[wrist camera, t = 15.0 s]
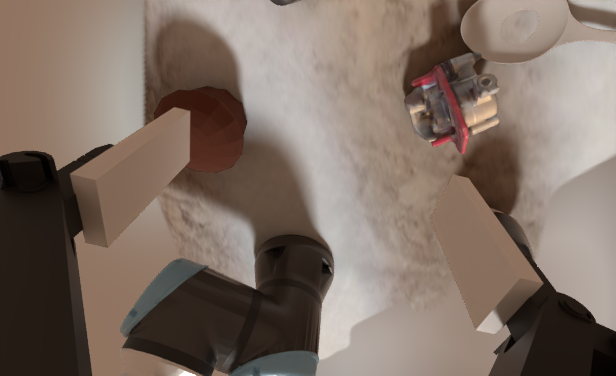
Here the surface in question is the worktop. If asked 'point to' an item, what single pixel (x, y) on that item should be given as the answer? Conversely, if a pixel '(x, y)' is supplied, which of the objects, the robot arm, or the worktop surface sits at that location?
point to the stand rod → (284, 2)
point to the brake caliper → (453, 102)
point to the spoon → (549, 34)
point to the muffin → (210, 126)
